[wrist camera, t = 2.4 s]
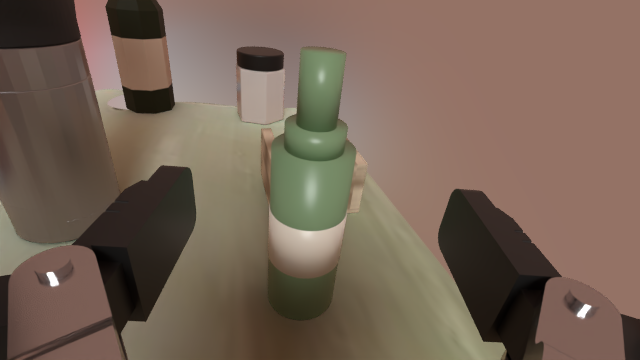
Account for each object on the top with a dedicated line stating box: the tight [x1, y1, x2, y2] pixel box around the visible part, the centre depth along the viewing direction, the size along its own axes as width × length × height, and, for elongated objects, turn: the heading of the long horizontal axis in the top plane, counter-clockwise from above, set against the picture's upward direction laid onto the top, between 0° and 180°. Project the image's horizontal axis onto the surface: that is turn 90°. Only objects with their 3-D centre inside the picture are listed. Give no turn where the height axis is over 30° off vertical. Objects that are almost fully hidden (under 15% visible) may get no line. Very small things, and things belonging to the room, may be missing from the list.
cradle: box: [261, 128, 368, 213], centre depth 41 cm, size 10×10×7 cm
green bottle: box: [268, 47, 357, 320], centre depth 24 cm, size 6×6×20 cm
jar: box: [236, 47, 285, 125], centre depth 61 cm, size 9×8×12 cm
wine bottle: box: [106, 0, 175, 113], centre depth 56 cm, size 8×8×30 cm
